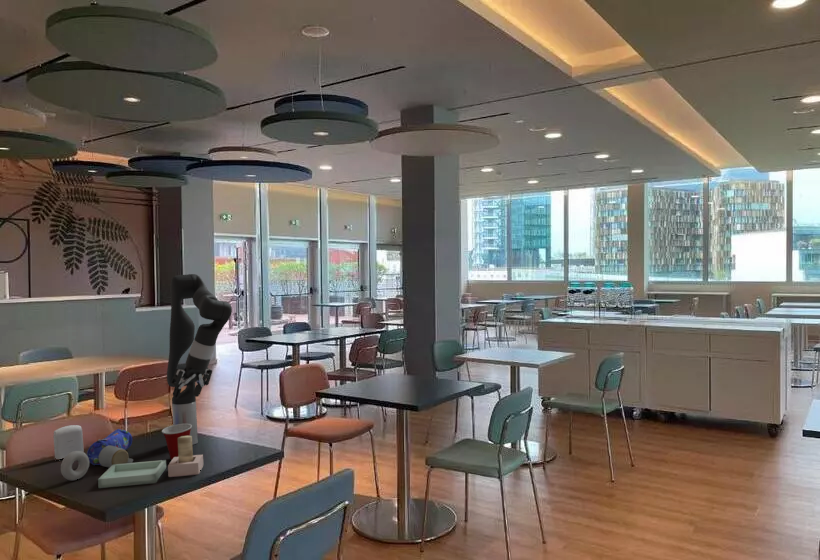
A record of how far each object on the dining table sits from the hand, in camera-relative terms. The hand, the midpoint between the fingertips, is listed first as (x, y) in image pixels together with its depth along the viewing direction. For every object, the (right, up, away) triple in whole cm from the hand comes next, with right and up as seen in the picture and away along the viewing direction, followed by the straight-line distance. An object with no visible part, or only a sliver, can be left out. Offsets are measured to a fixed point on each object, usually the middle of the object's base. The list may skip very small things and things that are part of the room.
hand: (185, 396), depth 213 cm
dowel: (-1, -27, +3) cm, 27 cm away
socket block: (-1, -27, +3) cm, 27 cm away
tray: (-17, -28, -2) cm, 33 cm away
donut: (-38, -29, -1) cm, 48 cm away
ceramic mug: (-30, -29, +13) cm, 43 cm away
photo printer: (-56, -29, +27) cm, 69 cm away
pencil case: (-38, -29, +24) cm, 54 cm away
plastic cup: (-10, -27, +19) cm, 35 cm away
